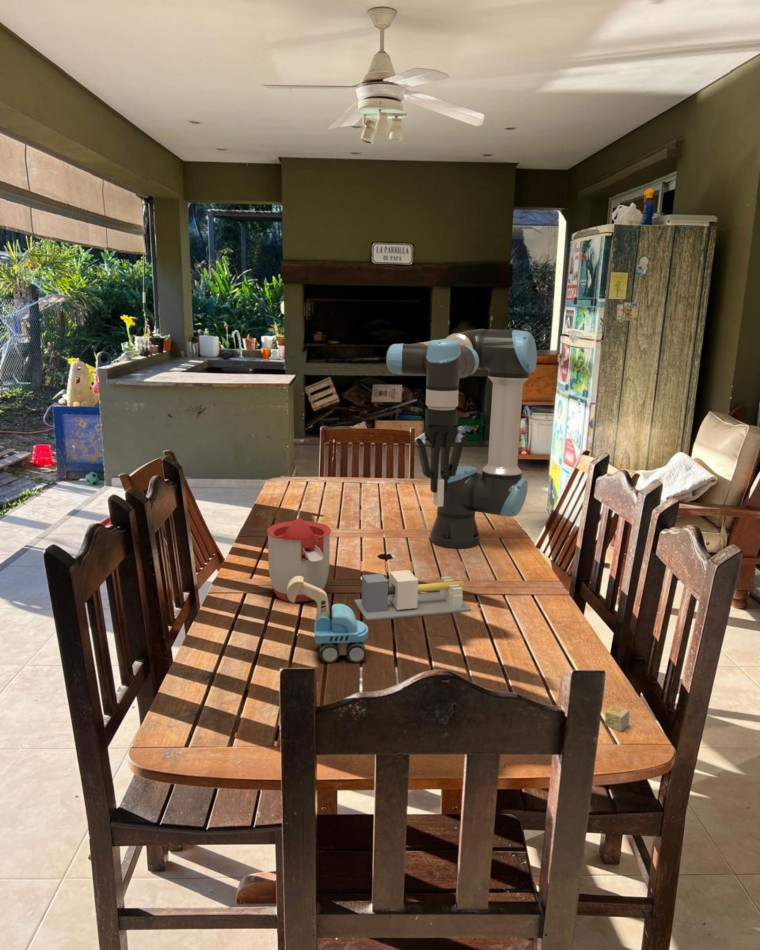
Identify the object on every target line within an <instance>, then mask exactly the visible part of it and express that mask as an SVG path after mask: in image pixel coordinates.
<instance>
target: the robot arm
mask: <svg viewBox="0 0 760 950" xmlns="http://www.w3.org/2000/svg"><path fill="white" fill-rule="evenodd" d="M537 351H538V350H537V345H536V341H535V338H534V336H533V335H532V333H530V331H526V330H518V329H492V328H491V329H490V328H489V329H487V328H486V329H485V328H478V329H470V330H466V331H462V332H457V333H452V334H450V335H448V336H447V337H446V338H441V339H434V340H433V339H432V340H429V341H424V342H423V341H422V342H417V343H410V344H409V343H403V342H402V343H393V344H391V345H390V346H389V347H388V349H387V351H386V362H385V363H386V366H387V369H388V371H389V372H391V373H392V374H396V375H401V376H403V375H405V376H406V375H408V376H426V386H425V405H426V406H427V407H426V409H424V410H425V412H424V413H425V416H424V418H425V419H424V427H423V431H422V434H420V435H419V436H414V437H413V442H414V443H415V445H416V447H417V451H418V455H419V460H420V465H421V470H422V474H423V476H425V477H426V478H428V479H429V480H430V492H432V493H433V505H435V507H436V517H435V520H434V523H433V526H432V529H431V531H430V537H429V538H430V539H429V540H430V542H431V543H432V544H434V545H437V546H439V547H442V548H443V547H444V548H448V549H449V548H450V549H467V548H473V547H477V545H479V544H480V537H481V536H480V532H479V528H478V525H477V521H476V512H477V513H483V514H488V515H489V514H490V515H496V516H500V517H513V518H514V517H516V516H517V515H519V514H520V512H521V511H522V509H523V507H524V504H525V501H526V499H527V494H528V487H529V485H528V479H526V478H524V477H522V475H523V471H522V470H521V468H520V467H519V466H518V458H519V446H520V445H519V444H520V443H519V441H520V431H521V429H520V428H521V415H522V414H521V413H522V403H523V402H522V401H523V387H524V384H525V383H526V382H527V381H528V380H529V379H530V374H532V373H534V372H535V370H536V368H537V363H538V352H537ZM477 370H483V371H487V378H488V379H489V380H490V381H491V382H492V393H491V406H490V407H491V409H490V422H489V423H490V424H489V439H488V441H489V442H488V458H487V464H486V465H485V466H483V468H482V471H481V472H482V473H479V471H478V468H477V467H476V466H471V465H462V466H459V463H460V460H461V456H462V453H463V449H464V446H465V444H466V443H467V441H468V437H467V436H465V435H462V434H461V433H460V431H459V429H458V416H459V415H458V414H459V413H458V412H459V410H458V409H457V407H458V406H459V389H460V388H459V384H460V379H465V378H467V377H469V376H471V375H473V374H474V373H476V371H477ZM426 441H427V442H428V443H429V445H430V446H429V447H430V462H429V456H428V452H427V449H426V446H425V445H426ZM454 441H455V443H454V445H453V449H452V452H451V444H453V442H454ZM450 452H451V457H450ZM439 470H440V472H439Z"/></svg>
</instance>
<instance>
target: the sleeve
mask: <svg viewBox="0 0 760 950" xmlns="http://www.w3.org/2000/svg"><path fill="white" fill-rule="evenodd" d="M418 585H419V579H418V578H417V577H416V575H414V574H413V573H412V572H411V571H410V570H409V569H407V570H406V569H405V570H394V571H389V580H388V587H393V586H395V594H393V595H388V597H389V600H390V601H391V602H392V604H393V605H394V606H395V608H396V609H397V610H400V609H411V608H417V601H418V594H419V592H418Z"/></svg>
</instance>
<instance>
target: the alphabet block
mask: <svg viewBox="0 0 760 950" xmlns="http://www.w3.org/2000/svg"><path fill="white" fill-rule="evenodd" d="M630 712H631V711H630V709H626V708H624V707H621V706H618V705H617V704H612V705H611V706H610V707H608V708H607V709H606V710H605V716H604V721H605V722H604V726H606V727H608V728H610V729H614V730H616V731H618V732H623V731H624V730H625V729H626V728H627V727H628V726H629V721H630Z"/></svg>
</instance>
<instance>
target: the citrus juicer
mask: <svg viewBox="0 0 760 950" xmlns="http://www.w3.org/2000/svg"><path fill="white" fill-rule="evenodd" d="M331 531H332V530H331V527H330V526H328V525H327V524H324V523H321V522H315V521H310V520H309V521H308V520H304V519H302V518H301V517H297V518H296V519H295V520H292V521H291V520H290V521H283V522H279V523H276V524H273V525H271V526H269V527H268V528H267V530H266V533H267V549H268V550H267V552H268V553H267V557H268V572H269V578H270V581H271V584H272V588H273V591H274V594H275V595H276V597H277V598H279V599H280V600H282V601H286V602H290V603H292V602H291V601H290V600H289V599H288V597H287V586H288V583H289V581H290V580H291V579H292V578H294V577H296V576H302V577H303V578H304V579H303V581H304V582H306V583H308V584H311V585H313V586H315V587H318V588H320V589H322V590H324V591H325V588H326V584H327V581H328V578H329V573H330V543H331V541H330V538H331V537H330V534H331V533H332V532H331ZM309 601H310V602H311V601H314V600H313V599H311V598H310V597H308V596H306V595H304V594H302V593H300V592H299V593H298V595H297V597H296V599H295V602H294V603H302V602H309Z"/></svg>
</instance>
